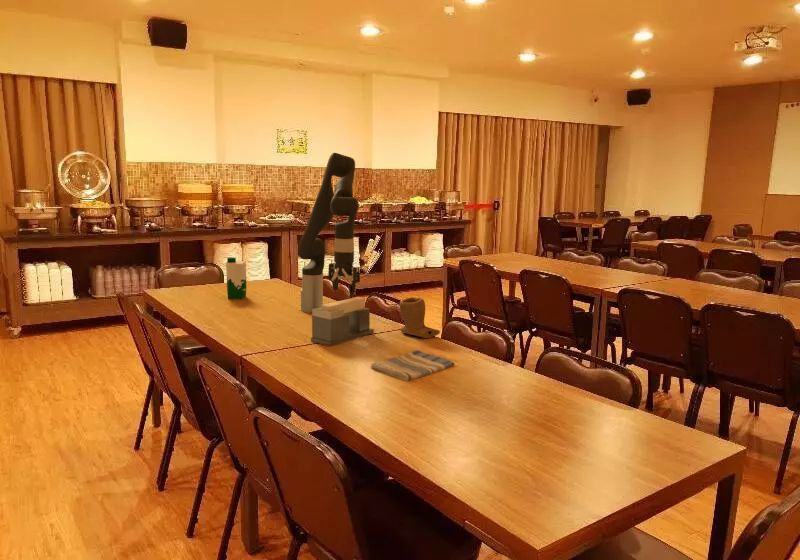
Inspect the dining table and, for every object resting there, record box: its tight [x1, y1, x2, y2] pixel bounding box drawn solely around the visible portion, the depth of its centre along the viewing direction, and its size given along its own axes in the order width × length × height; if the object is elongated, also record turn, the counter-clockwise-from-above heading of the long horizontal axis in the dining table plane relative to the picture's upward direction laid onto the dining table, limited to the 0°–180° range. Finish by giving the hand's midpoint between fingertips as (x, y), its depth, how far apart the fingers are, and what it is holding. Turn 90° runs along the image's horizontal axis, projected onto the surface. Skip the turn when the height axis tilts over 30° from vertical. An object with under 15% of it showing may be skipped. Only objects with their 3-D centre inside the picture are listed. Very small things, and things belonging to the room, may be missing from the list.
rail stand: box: [310, 307, 375, 347], centre depth 235 cm, size 10×25×12 cm, turn 143°
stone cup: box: [398, 296, 441, 339], centre depth 240 cm, size 15×12×15 cm
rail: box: [322, 296, 366, 313], centre depth 235 cm, size 4×20×4 cm, turn 143°
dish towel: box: [370, 349, 455, 382], centre depth 202 cm, size 17×24×3 cm
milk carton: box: [225, 256, 247, 300], centre depth 301 cm, size 9×9×20 cm
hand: (343, 291), depth 233 cm, fingers open, 8 cm apart
